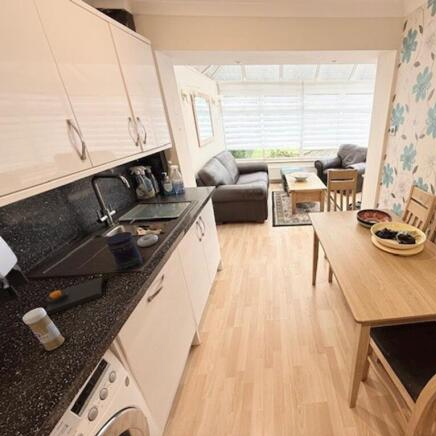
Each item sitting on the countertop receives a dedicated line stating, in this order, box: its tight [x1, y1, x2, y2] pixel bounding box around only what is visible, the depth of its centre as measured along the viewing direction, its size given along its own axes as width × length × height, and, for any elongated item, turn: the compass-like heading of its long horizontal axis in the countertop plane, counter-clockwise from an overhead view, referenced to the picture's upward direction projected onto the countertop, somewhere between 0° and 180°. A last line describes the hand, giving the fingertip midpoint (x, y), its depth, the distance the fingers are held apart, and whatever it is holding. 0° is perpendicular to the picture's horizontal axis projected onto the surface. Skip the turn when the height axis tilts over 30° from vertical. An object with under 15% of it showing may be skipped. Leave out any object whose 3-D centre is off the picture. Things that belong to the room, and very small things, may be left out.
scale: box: [45, 276, 105, 316], centre depth 93 cm, size 16×12×4 cm
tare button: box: [49, 289, 62, 299], centre depth 90 cm, size 3×3×2 cm
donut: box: [136, 233, 159, 248], centre depth 128 cm, size 10×4×10 cm
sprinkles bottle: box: [21, 307, 66, 351], centre depth 71 cm, size 5×5×13 cm
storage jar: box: [105, 231, 144, 272], centre depth 108 cm, size 10×10×15 cm
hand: (16, 291), depth 65 cm, fingers open, 6 cm apart
